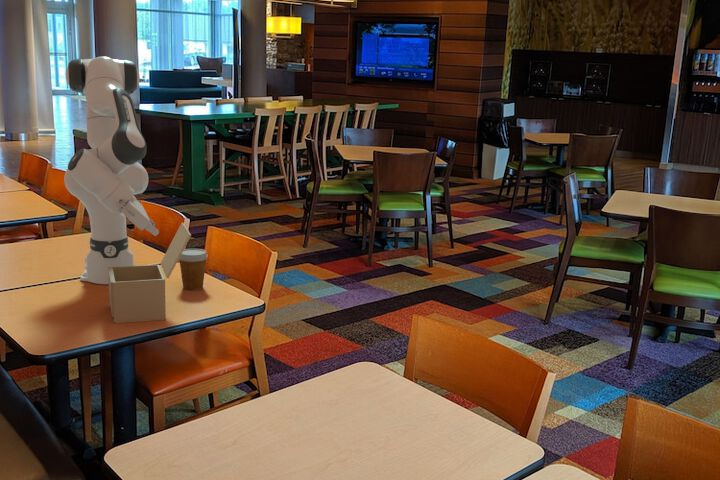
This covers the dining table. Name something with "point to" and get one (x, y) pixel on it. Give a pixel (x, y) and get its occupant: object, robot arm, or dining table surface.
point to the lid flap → (175, 250)
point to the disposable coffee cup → (193, 268)
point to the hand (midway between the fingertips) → (155, 230)
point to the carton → (137, 293)
